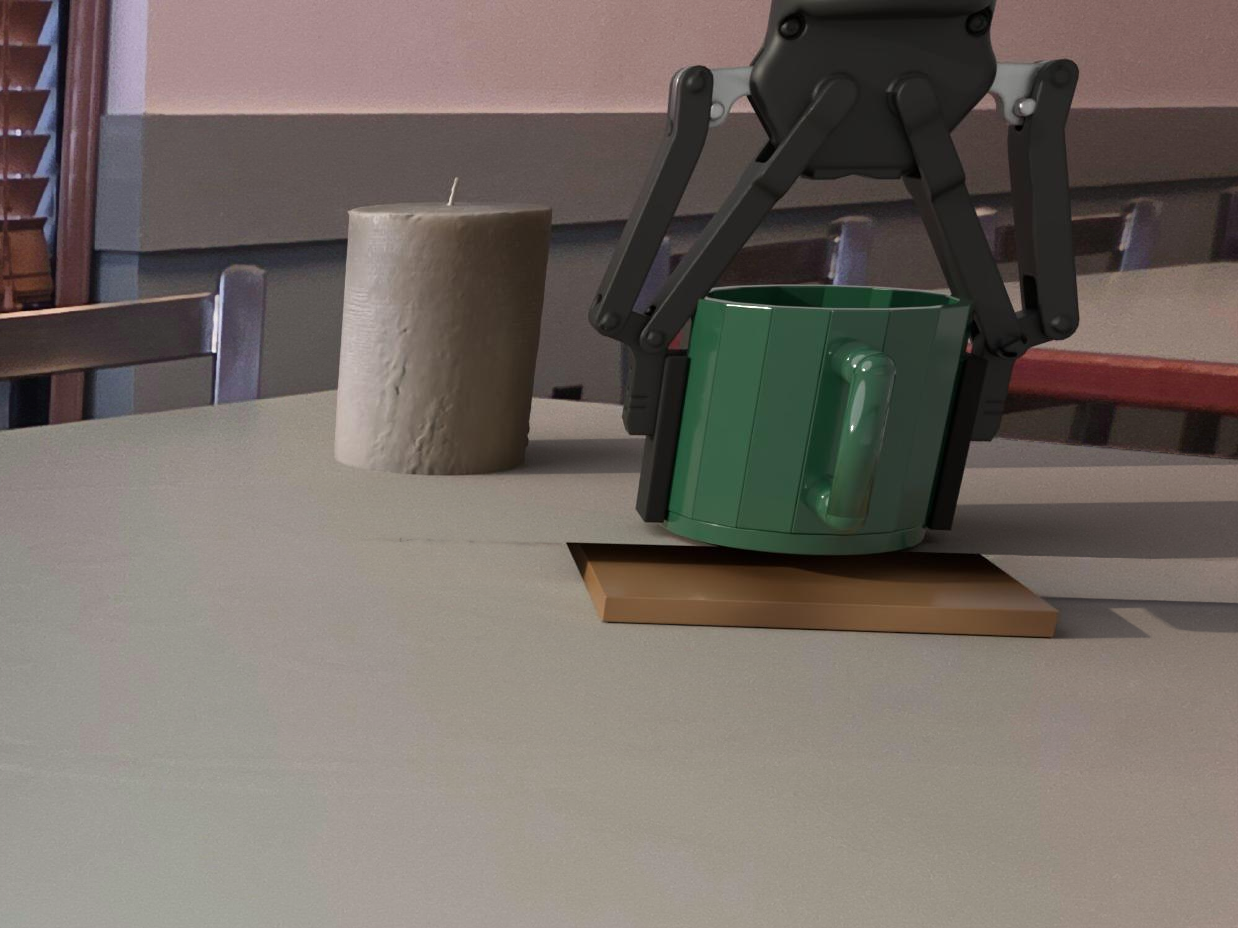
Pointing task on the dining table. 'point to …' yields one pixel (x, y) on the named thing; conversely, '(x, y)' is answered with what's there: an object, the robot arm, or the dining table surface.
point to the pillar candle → (440, 335)
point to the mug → (815, 416)
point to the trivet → (809, 590)
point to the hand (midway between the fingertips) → (788, 519)
